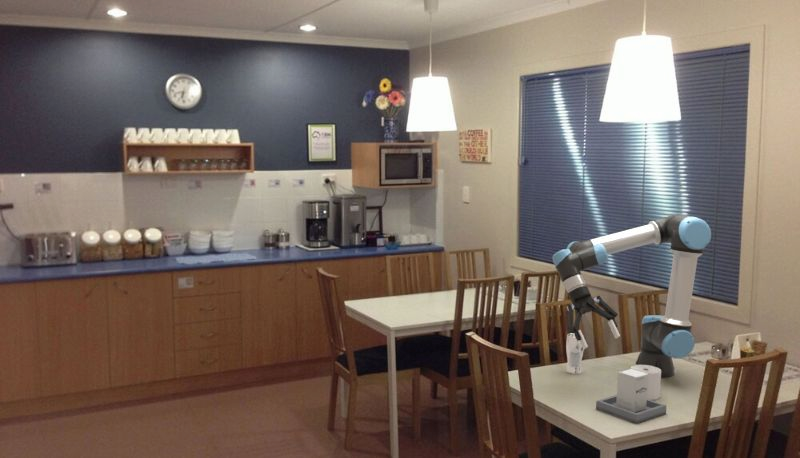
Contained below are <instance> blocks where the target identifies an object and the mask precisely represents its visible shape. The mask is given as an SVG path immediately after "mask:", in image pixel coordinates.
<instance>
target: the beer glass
mask: <svg viewBox="0 0 800 458" xmlns="http://www.w3.org/2000/svg"><path fill="white" fill-rule="evenodd" d="M583 337H584V338H585V335H583ZM565 343H566V345H565V348H566V349H565V351H566V357H567V359H566V360H567V365H566V369H565V371H566V373H569V374H571V375H572V374H573V375H579V374H582V372H583V371H582V370H583V369H582V360H583V356H584V351H585V349H583V348H582V345H581V343H580V341H577V339H576V337H575V335H574V333H572V332H571V333H568V334H566V342H565Z"/></svg>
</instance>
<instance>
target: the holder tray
mask: <svg viewBox="0 0 800 458" xmlns="http://www.w3.org/2000/svg"><path fill="white" fill-rule="evenodd" d="M616 401H617V394H615V395H612V396H608V397H604V398H601V399H598V400H596V401H595V402H596V403H595V410H597V411H600V412H603V413H606V414H608V415H611V416H613V417H616V418H619V419H622V420H624V421H627V422H630V423H632V424H636V425H638V424H640V423H644V422H646V421H649V420H653V419H656V418H658V417H660V416H661V417H662V416H664V415H667V404H665V403H664V404H663V403H661V402H658V401H655V400H649V399H647V404H646V409H645V410H641V411H638V412H635V413H634V412H631V411H628V410H625V409H623V408H620V407H617V406H616Z"/></svg>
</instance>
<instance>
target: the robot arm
mask: <svg viewBox="0 0 800 458" xmlns="http://www.w3.org/2000/svg"><path fill="white" fill-rule="evenodd" d="M711 239H712V230H711V227H710V225H709V224H708V223H707V222H706V221H705V220H703V219H702V218H699V217H696V216H691V215H685V214H672V215H668V216H664V217H660V218H658V219H657V218H656V219H654V220H651V221H649V222H648V224H646V225H641V226H637V227H633V228H630V229H626V230H622V231H618V232H614V233H611V234H606V235H602V236H598V237H596V238H595V237H594V238H592V239H591V238H590V239H588V240H583V241H577V240H576V241H572V242H570V243H569V244H568V245H567V246H566V248H565V249H561V250H559V251H556V252H555V253H554V254H553V255H552V262H553V265H554V267H555V270H556V271H557V273H558V276H559V278H560V279H561V282H562V285H563V286H564V289H565V290H566V292H567V294H568V297H569V299H570V302H571V303H572V304H568V305H567V306H566V307H565V310H566V313H567V317H566V318H567V320H566V322H567V323H566V325H567V326H566V327H567V328H566V330H567V331H566V332H567V333H571V334H572V333H574V335H575V337H576V339H577V341H580V343H581V345H582V348H583V349H584V350H586V349H588V347H589V346H588V344H587V341H586V338H585V336H584V334H583V333H582V330H581V329H579V326H580V324H581V319H582V316H583V315H585V314H587V313H591V312H593V313H596V314H598V315H599V316H600V317H602V318H605V320H607V325H608V326H609V329H610V330H611V332H612V334H613V337H614V338H615V339H617V338H619V337H620V336H621V334H620V333H619V330H618V323H617V322H616V320H615V318H617V316H618V313H617V312H616V311H615V310H614V309H613V308H611V306H610V305H609V304H607V303H606V302H605V301H604V300H603V298H602V297H601V295H596V296H595V297H594V298H593V297H592V294H591V291H590V289H589V287H588V286H587V284H586V281H585V279H584V277H583V275H582V271H586V270H588V269H592V268H593V267H597V266H601V265H602V264H604V263H607V262H608V259H609V255H612V254H616V253H620V252H623V251H627V250H631V249H636V248H639V247H643V246H646V245H650V244H655V245H661V244H670V248H669V249H670V251H671V253H672V254H673V257H672V262H671V263H672V265H671V271H670V277H669V284H668V291H667V298H666V304H665V312H664V315H660V314H659V315H657V314H654V315H653V314H652V315H644V316H643V317H642V320H641V337H640V352H639V354H638V356H637V359H636V362H635V364H634V365H649V366H654V367H657V368H659V369H661V378H668V377H673V376H674V375H675V372H676V371H675V365H674V362H673V359H678V360H679V359H684V358H686V357H687V356H688V355H690V354H691V353H692V352H693V350H694V348H695V345H696V343H695V342H696V341H695V338H694V336H693V334H692V326H693V324H692V322H691V321H690V318H689V316H690V311H691V304H692V299H693V298H692V297H693V290H694V283H695V279H696V278H695V277H696V271H697V266H698V265H697V264H698V259H699V257H701V256H702V255H703V253H704V249H705V248H706V246H708V245H709V243H710V241H711ZM574 310H575V311H576V314H575V319H574ZM583 336H584V337H583Z"/></svg>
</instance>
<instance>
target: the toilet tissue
mask: <svg viewBox="0 0 800 458" xmlns="http://www.w3.org/2000/svg"><path fill="white" fill-rule="evenodd" d="M630 369H633V370H637V371H640V372H644V373H647V374H648V388H647V399H649V400H652V401H655V400H659V399H660V396H661V384H662V382H661V381H662V377H661V369H659V368H657V367H654V366H649V365H635V364H634V365H631V366H630Z"/></svg>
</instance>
